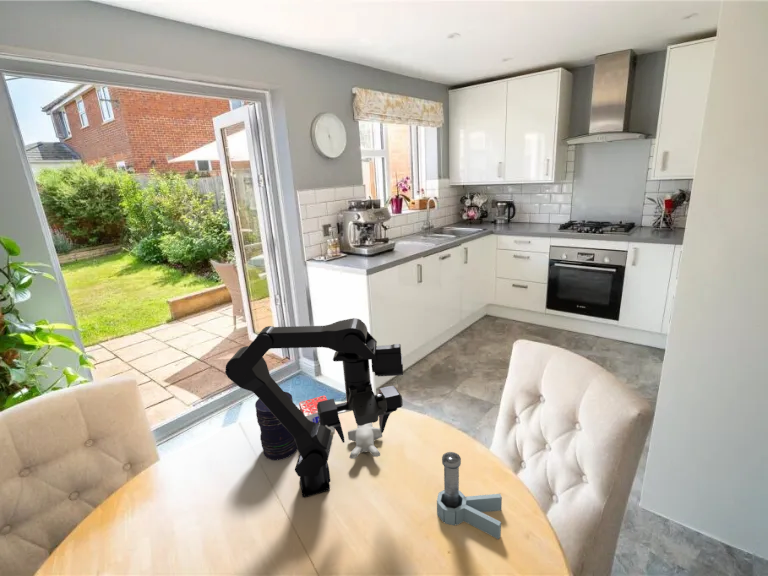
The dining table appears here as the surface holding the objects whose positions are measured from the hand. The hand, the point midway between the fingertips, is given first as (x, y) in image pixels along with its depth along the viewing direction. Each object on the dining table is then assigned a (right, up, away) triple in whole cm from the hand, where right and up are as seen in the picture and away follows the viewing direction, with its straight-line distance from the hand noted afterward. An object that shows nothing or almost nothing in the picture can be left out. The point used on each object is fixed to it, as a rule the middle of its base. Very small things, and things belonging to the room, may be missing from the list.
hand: (362, 436), depth 89 cm
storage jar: (-24, -10, +18) cm, 31 cm away
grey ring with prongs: (+23, -14, -7) cm, 28 cm away
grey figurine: (0, -9, +16) cm, 19 cm away
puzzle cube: (-15, -8, +25) cm, 30 cm away
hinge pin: (+19, -14, -6) cm, 25 cm away
